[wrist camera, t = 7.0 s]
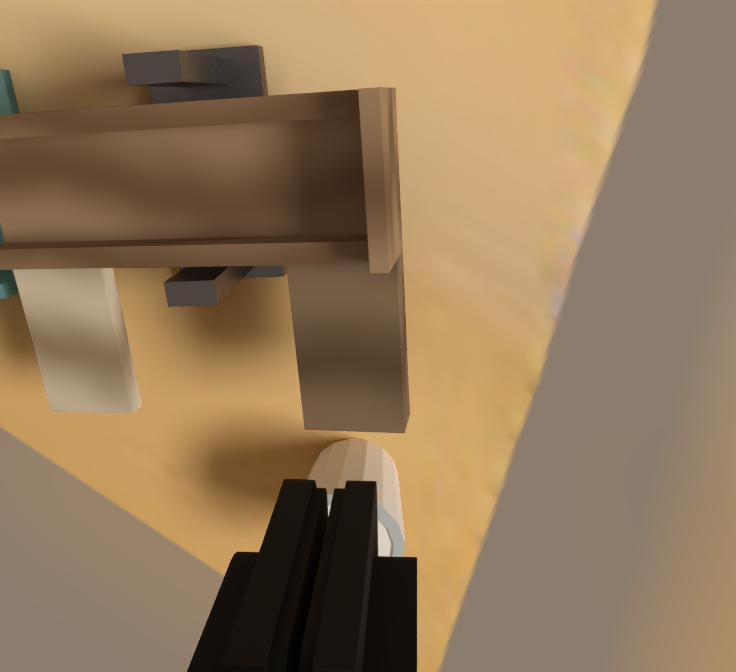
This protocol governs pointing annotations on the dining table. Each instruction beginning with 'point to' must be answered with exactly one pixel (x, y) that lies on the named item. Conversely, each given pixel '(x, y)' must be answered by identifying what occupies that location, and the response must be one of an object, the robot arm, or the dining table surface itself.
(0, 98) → the teal tray
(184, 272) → the lever stand
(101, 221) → the walnut lever
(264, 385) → the dining table surface
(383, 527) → the white cup
